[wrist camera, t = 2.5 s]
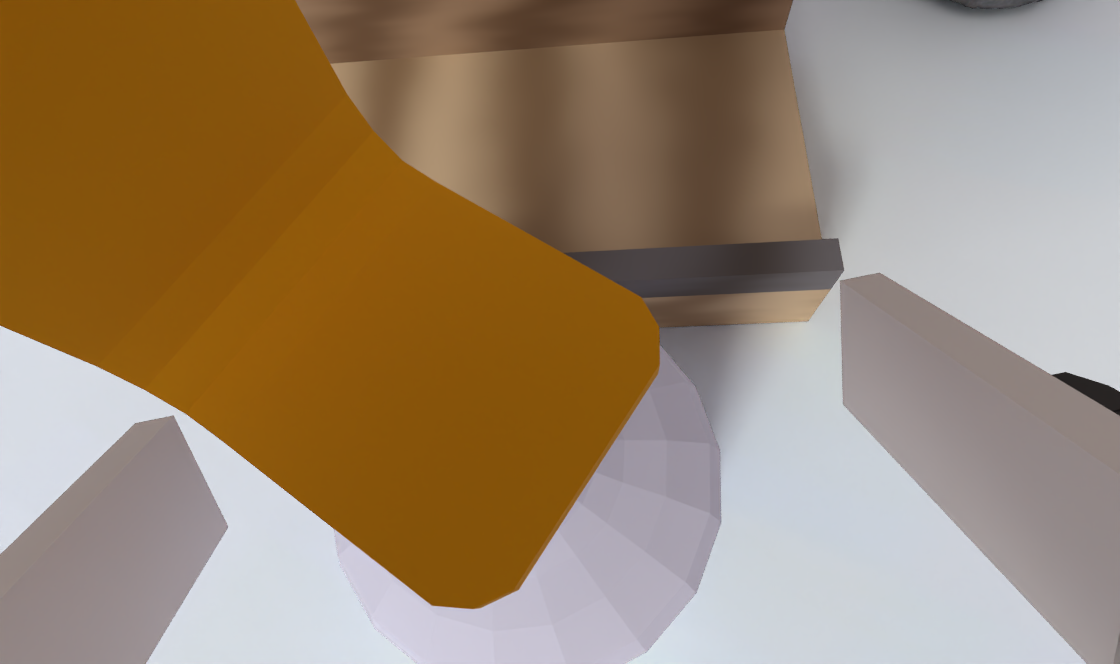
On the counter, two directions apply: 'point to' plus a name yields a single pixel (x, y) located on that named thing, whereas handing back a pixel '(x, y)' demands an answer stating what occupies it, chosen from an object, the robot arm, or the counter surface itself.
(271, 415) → the soap bottle
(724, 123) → the cleat shelf
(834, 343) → the counter surface
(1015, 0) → the moka pot
